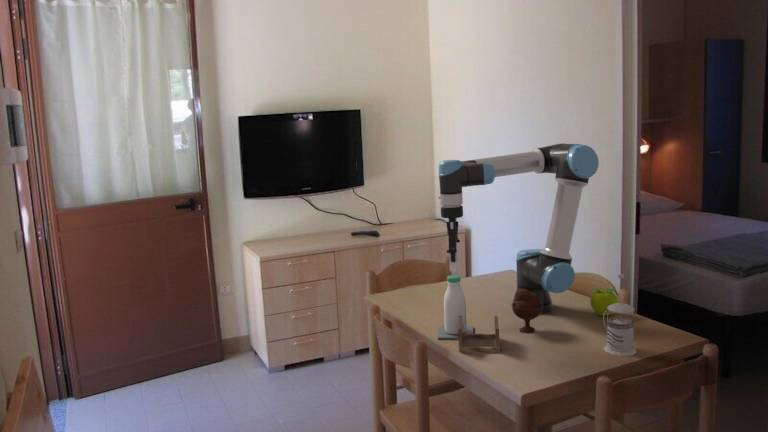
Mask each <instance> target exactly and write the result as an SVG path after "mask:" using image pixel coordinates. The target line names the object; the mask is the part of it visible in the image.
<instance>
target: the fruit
mask: <svg viewBox="0 0 768 432" xmlns="http://www.w3.org/2000/svg"><path fill="white" fill-rule="evenodd" d="M590 291H594V292H593V293H592V295H591V298H590V307H591V308H592V310H593V311H594V313H596V315H598V316H600V317H601V316H602V317H603V315H604V313H605V311H606V310H608V309H607V307H608V306H609V305H611V304H615V303H618V298H617V297H616V295H615V294H614V293H613V292H614V291H615V292H616V289H612V288H608V289H606V290H605V288H603V289H602V290H600V289H598V288H591V289H590ZM608 312H609V310H608V311H606V313H605V315H604V317H607V314H608ZM610 313H613V312H611V311H610ZM610 313H609V314H608V316H611V314H610ZM613 314H614V313H613Z"/></svg>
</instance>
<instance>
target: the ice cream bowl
mask: <svg viewBox="0 0 768 432" xmlns="http://www.w3.org/2000/svg"><path fill="white" fill-rule="evenodd" d="M514 296H515V300H516V302H514V303H513V302H512V303H511V304H510V305H511V308H512V311H513V314H514V315H515V316H516V317H518V318H519V319H521V320H523V321H524V325H523V326H522V327H520V328H519V332H520V333H522V334H533V333H536V329H535V328H534V327H533V326H531V323H530V322H531V321H532V320H535V319H536V318H538V317H539V316H540V315H541V314H542V313H541V312H542V310H543V304H542V303H540V300H539V298H538V296H537V295H536V294H534V293H531V292H529V291H528V290H525V289H520V290H518V291H517V292H516V291H515V294H514Z"/></svg>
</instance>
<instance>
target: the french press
mask: <svg viewBox="0 0 768 432" xmlns="http://www.w3.org/2000/svg"><path fill="white" fill-rule="evenodd" d="M617 278H619V279H624V278H625V274H623V273H619V274H618V275H617ZM619 299H620V300H619V301H620V302H617V303H615V304H611V305H609V306H608V307H607V309H608V310H609V312H608V314H609V313H610V311H611V312H613V313H610V315H614V314H619V315H620V316H616V317H615V316H614V317H611V318H609V315H608V314H607V316H606V319H607V320H606V321H607V326H606V324H605V316H604V315H605V313H606V311H608V310H606V311H605V313H604V315H603V316H602V321H603V326H604V328H605V330H607V331H606V332H607V341H606V342H607V344H606V346H605V347H604V348H603V349H604V351H605V352H606V353H608V354H610V355H613V356H622V357H624V356H625V357H626V356H633V355H635V354H637V352H636V351H637V349H636V348H635V346H634V340H635V339H634V337H635V335H634V333H635V332H634V331H635V330H634V328H635V327H634V325H633V320H632V319H631V318H626V317H622V314H623V315H624V314H625V315H627V314H632V313H634V311H635V310H636V309H635V308H634V306H631V305H630V304H627V303H625V302H622V296H620V298H619ZM625 326H626V327H625ZM629 327H630V328H629Z"/></svg>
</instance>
